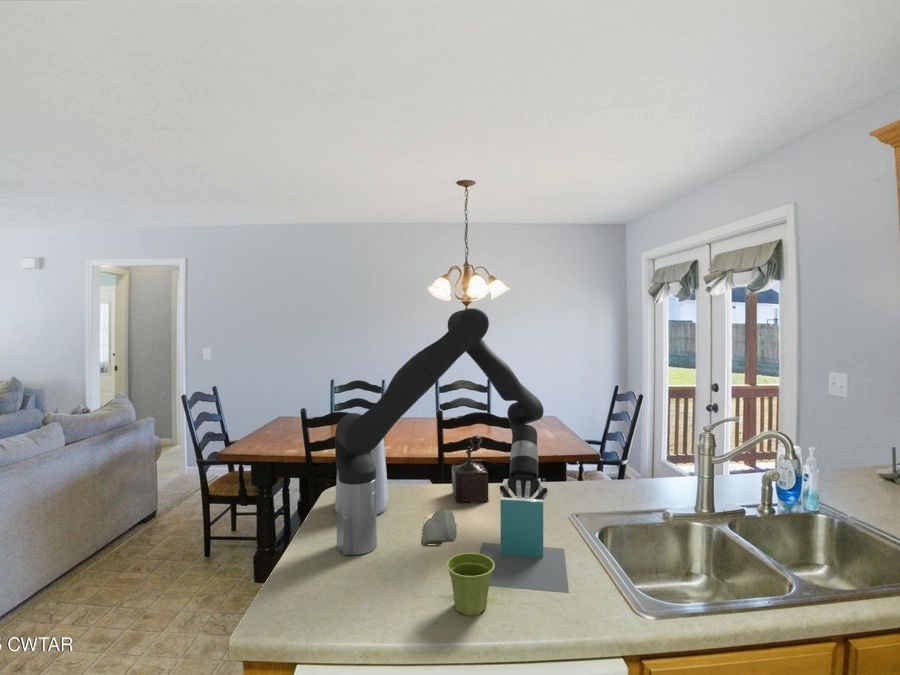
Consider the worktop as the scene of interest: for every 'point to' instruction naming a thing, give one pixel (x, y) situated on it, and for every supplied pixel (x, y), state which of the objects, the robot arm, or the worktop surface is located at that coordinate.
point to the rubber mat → (528, 569)
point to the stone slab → (440, 528)
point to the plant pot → (470, 581)
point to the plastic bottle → (381, 479)
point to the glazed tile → (522, 527)
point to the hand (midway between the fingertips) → (522, 523)
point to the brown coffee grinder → (470, 478)
